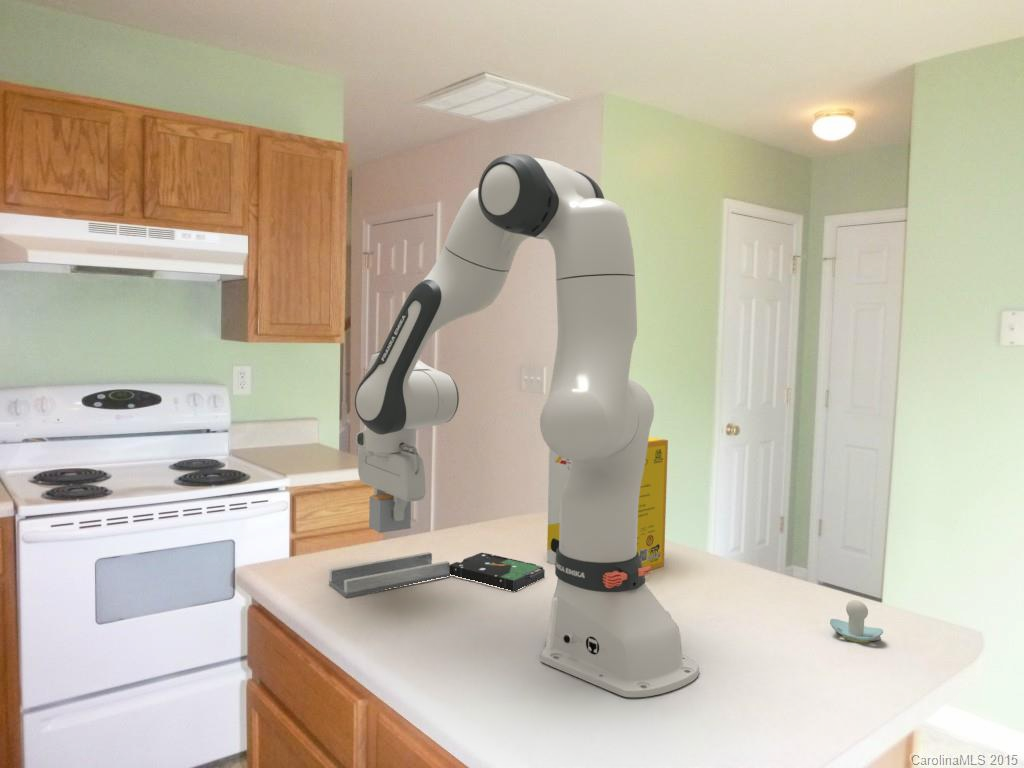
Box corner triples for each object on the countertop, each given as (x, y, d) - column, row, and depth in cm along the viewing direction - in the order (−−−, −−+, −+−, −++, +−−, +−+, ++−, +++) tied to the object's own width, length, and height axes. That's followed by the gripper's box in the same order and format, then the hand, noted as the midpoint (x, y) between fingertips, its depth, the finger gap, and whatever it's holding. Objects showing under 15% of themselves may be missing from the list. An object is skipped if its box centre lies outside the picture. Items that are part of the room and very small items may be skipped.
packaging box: (546, 562, 149) (549, 436, 148) (601, 547, 160) (604, 430, 159) (609, 583, 137) (613, 447, 136) (664, 566, 148) (668, 439, 147)
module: (410, 528, 136) (411, 495, 135) (379, 532, 132) (380, 499, 132) (399, 522, 139) (399, 490, 139) (369, 527, 136) (369, 494, 136)
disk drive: (448, 579, 140) (514, 595, 132) (448, 564, 140) (515, 579, 132) (481, 565, 149) (545, 579, 140) (481, 551, 148) (545, 564, 140)
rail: (449, 577, 139) (449, 562, 139) (346, 598, 128) (347, 581, 127) (428, 566, 146) (428, 551, 145) (329, 584, 134) (329, 569, 134)
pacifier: (834, 627, 119) (827, 638, 114) (836, 588, 119) (829, 598, 114) (885, 638, 115) (880, 650, 110) (888, 597, 115) (883, 608, 110)
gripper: (435, 446, 128) (433, 527, 129) (382, 431, 145) (382, 502, 146) (401, 449, 124) (400, 532, 126) (351, 433, 141) (351, 506, 142)
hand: (390, 516), depth 136 cm, fingers closed on module, 4 cm apart
